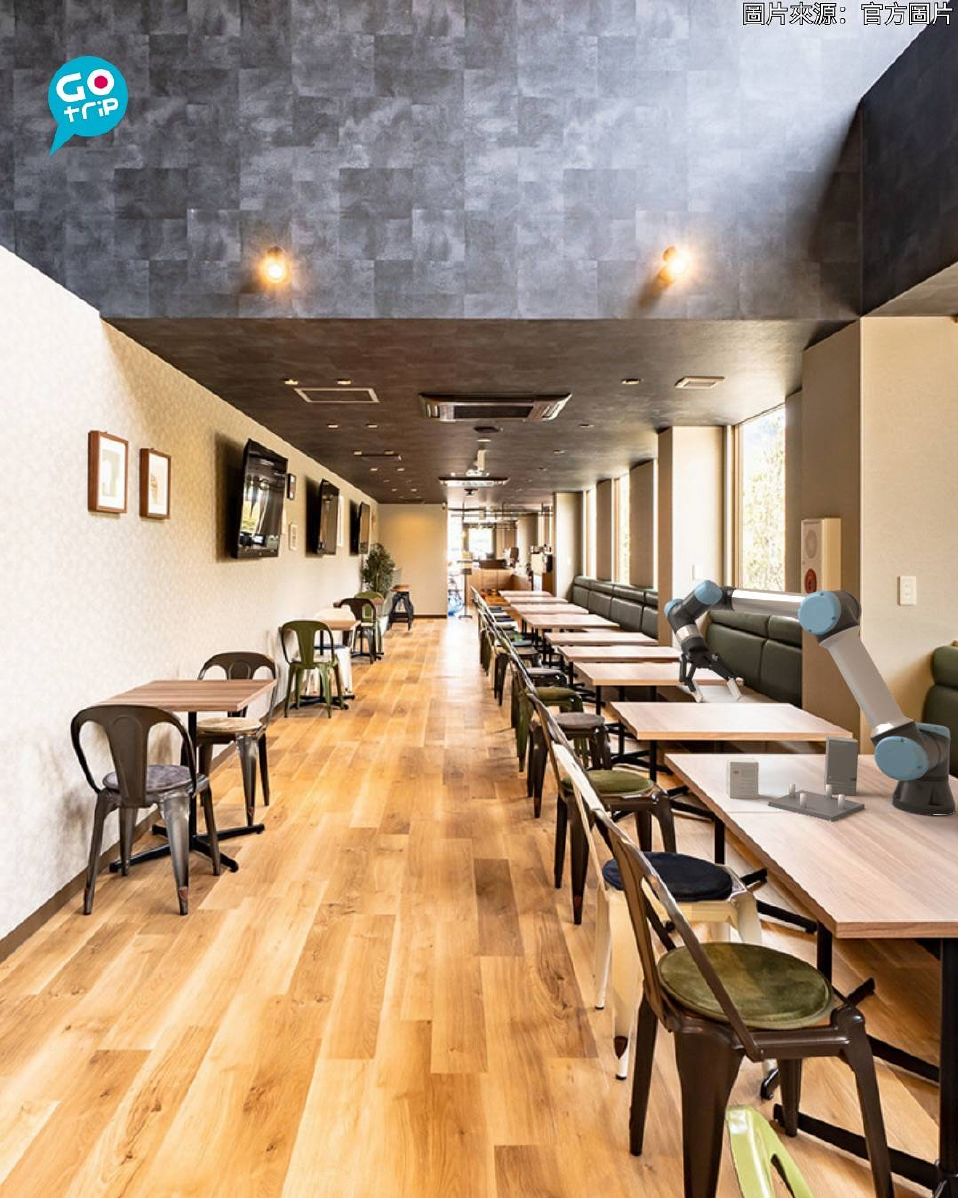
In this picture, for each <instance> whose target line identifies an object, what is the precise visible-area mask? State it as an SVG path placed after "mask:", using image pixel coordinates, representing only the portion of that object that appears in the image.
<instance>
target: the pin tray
mask: <svg viewBox="0 0 958 1198" xmlns="http://www.w3.org/2000/svg"><path fill="white" fill-rule="evenodd" d="M788 788H789V790H788V794H786V795H784V796H780V797H777V798H775V799H771V800H768V801H767V805H768V806H769V807H773V808H776V809H779V810H780V809H781V810H784V811H788V812H792V813H796V812H798V813H797V814H800V813H801V814H800V815H804V814H806V815H805V816H808V815H810V816H809V817H812V816H814V817H813V818H816V817H817V819H820V818H821V820H824V819H825V821H828V820H831V821H830V822H834V821H833V820H835V821H837V820H840V819H842V818H844V817H847V816H849V815H851V813H852V814H854V813H856V812H857V813H858V812H859V811H861V810H862V811H863V809H865V806H866V805H865V803H862V802H857V801H852V800H849V799H846V795H843V794H837V795H838V797H834V796H833V794H832V785H829V784H827V785H826V790H825V794H821V793H817V792H812V791H808V790H804V789H800V790H797V791H796V784H795V783H789V786H788ZM853 812H854V813H853ZM848 814H849V815H848ZM846 815H847V816H846ZM839 818H840V819H839Z"/></svg>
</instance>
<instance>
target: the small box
mask: <svg viewBox="0 0 958 1198" xmlns="http://www.w3.org/2000/svg"><path fill="white" fill-rule="evenodd" d="M725 761H726V762H725V763H726V765H725V767H726V771H725V772H726V774H725V793H726V795H727V796H728V797H729V798H730V799H753V800H755V799H756V800H757V799H759V766H760V765H759V761H757V759H756V758H754V757H730V756H729V757H726V760H725Z"/></svg>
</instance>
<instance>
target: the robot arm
mask: <svg viewBox="0 0 958 1198" xmlns="http://www.w3.org/2000/svg"><path fill="white" fill-rule="evenodd" d="M862 610H863V609H862V605H861V603H860V601H859V599H858V598H857V597H856V596H855V595H854V594H853V593H851V592H849V591H846V590H841V589H838V590H825V589H824V590H823V589H822V590H818V591H815V592H811V593H804V592H793V591H792V592H791V591H782V590H781V591H780V590H768V589H760V588H759V589H757V588H756V589H755V588H746V587H745V588H744V587H734V586H730V585H722V586H719V585H718V583H716V582H714V581H712V580H711V579H705V580H703V581H702V582H700V583H699V584H698V585H697V586H695V588H694V589H693V590H691V592H690V593H688V594H687V596H686V597H685V598H684V599H683V598H674V599H672V600H670V601H668V602H667V603H666V604H665V606H664V607H663V612H664V614H665V617H666V620H667V622H668V623H669V626H670V627H671V630H672V632H673V634H674V636H675V639H676V640H677V643H678V645H679V647H680V649H681V651H682V653H681V654H680V655H679V657H678V660H677V661H678V662H679V670H678V671H679V675H678V676H679V677H678V682H679V683H681V684H682V683H683V685H684V686H685V687H688V689H689V690H688V691H689V692H690V693H692V695H693V697H694V699H695V701H696V703H697V704H700V703H702V701H703V700H704V699H705V697H704V695H703V693H702V691H701V689H700V687H699V685H698V683H697V680H696V679H693V678H694V675H695V672H696V670H702V669H705V670H706V669H707V670H709V671H712V672H713V673H715V674H716V675H718V676H719V677H721V679H724V680H725V681H726V682H727V683H726V685H727V687H728V689H729V691H730V693H731V695H732V697H733V699H734V701H735V702H738V701H739V700H740V699H742V697H743V695H742V693H741V691H740V687H739V684H738V682H737V679H738V678H739V676H740V675H739V673H738V672H737V671H736V670H735V669H734V668H733V667H732V666H731V665H730V664H729V663H728V662H726V660H725V659H723V657H722V655H720V653H719V652H715V653H714V654H711V653H710V652H709V646H708V644H707V642H706V640H705V638H704V636H703V635H702V633H701V630H700V629H699V626H698V625H697V623H696V621H698V619H700V618H701V617H702V616H704V614H706V613H707V612H708V611H710V612H711V611H729V612H730V611H731V612H740V613H741V612H742V613H749V614H758V615H759V614H760V615H767V616H776V617H777V616H778V617H787V618H794V619H798V622H799V624H800V626H801V627H802V629H804V631H806V632H808V633H809V634H812V635H813V636H814V639H815V640H816V642H817V644H818V645H819V646H820V647H821V648H825V649H827V650H828V652H829V653H830V655H831V657H832V659H833V660H834V662H835V664H836V666H837V668H838V670H839V671H840V674H841V675H842V677H843V679H844V681H845V683H846V685H847V686H848V688H849V690H850V691H851V694H852V695H853V697H854V699H855V702H857V704H858V706H859V709H860V710H861V711H862V714H863V716H864V718H865V719H866V721H867V723H868V724H869V726H870V728H871V731H870V735H869V739H870V741H871V742H872V745H873V746H874V748H875V749H874V754H873V755H874V761H875V764H876V766H877V767H878V769H879V770H880V771H881V772H882V773H883V774H884V775H885V776H886V777H888V778H891V779H892V780H896V781H897V783H896V786H895V788H894V791H893V793H892V799H891V800H892V802H891V803H892V806H893V807H895V808H897V809H899V810H902V811H905V812H908V813H913V814H917V813H918V814H917V815H924V814H929V815H928V816H934V815H933V814H950V813H953V812H955V813H956V801H955V798H954V795H953V792H952V790H951V786H950V782H949V781H950V779H949V777H950V776H949V775H950V753H951V752H950V751H951V750H950V748H951V739H952V738H951V731H950V729H949V728H948V727H947V726H944V725H939V724H938V725H937V724H933V723H932V724H931V723H924V722H915V720H914V719H912V718H910V717H906V716H905V715H904V713H903V712H902V709H901V708H900V706H899V705H898V703H897V701H896V699H895V697H894V696H893V694H892V692H891V691H890V689H889V687H888V686H887V683H886V682H885V680H884V678H883V677H882V675H881V673H880V671H879V669H878V667H877V665H876V664H875V661H873V659H872V657H871V655H870V653H869V652H868V650H867V648H866V646H865V644H864V643H863V641H862V639H861V638H860V636H859V634H860V630H861V625H860V623H859V621H860V619H861V617H862ZM688 663H689V664H691V665H690V667H689V671H687V670H688V669H687V668H688ZM687 672H688V673H687ZM919 813H920V814H919ZM930 814H931V815H930ZM953 814H954V813H953ZM950 815H951V814H950Z"/></svg>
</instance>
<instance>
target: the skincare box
mask: <svg viewBox="0 0 958 1198" xmlns="http://www.w3.org/2000/svg"><path fill="white" fill-rule="evenodd" d="M825 739H826V742H825V745H826V746H825V747H826V748H825V761H824V780H823V788H824V791H826V785H827V784H829V785H832V795H839V794H843V795H845V796H854V797H855V796H856V795H857V782H858V764H859V763H858V761H859V745H860V744H859V741H858V740H857V739H856V738H854V737H852V738H850V737H844V736H832V735H827V736H826V737H825Z"/></svg>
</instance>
